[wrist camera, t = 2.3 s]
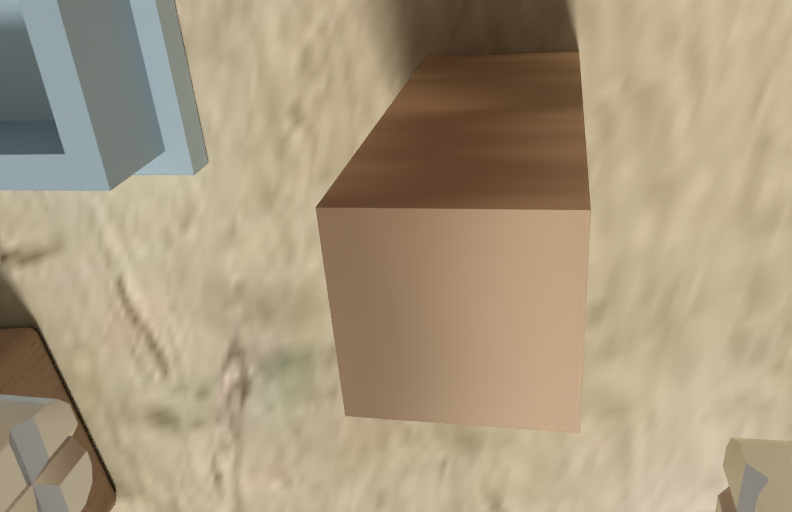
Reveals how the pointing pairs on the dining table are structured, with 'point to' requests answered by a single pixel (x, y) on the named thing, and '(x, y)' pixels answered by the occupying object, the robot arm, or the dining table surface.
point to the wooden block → (36, 377)
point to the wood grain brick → (465, 247)
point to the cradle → (94, 94)
